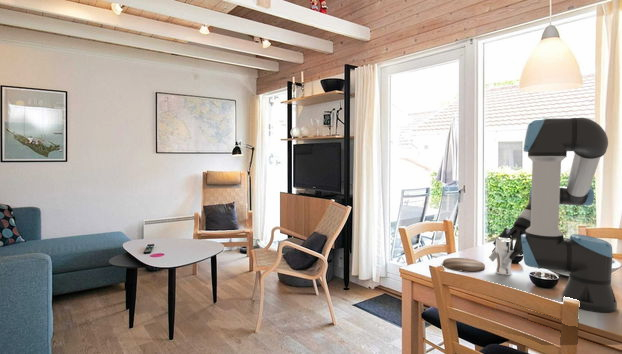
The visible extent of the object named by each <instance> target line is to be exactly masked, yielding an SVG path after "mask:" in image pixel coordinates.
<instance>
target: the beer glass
mask: <svg viewBox="0 0 622 354" xmlns="http://www.w3.org/2000/svg"><path fill="white" fill-rule="evenodd" d="M495 240H496V247H495V246H494V248H495V250H496V264H497V265H496V270H495V272H496V273H497V274H499V275H500V276H511V275H512V273H513V272H512V267H511V265H512V261H513V260H511V262H510V263H509V265H508V266H506V265H505V264H504V263H503V261H504V259H505V258H506V256H507V255H508V254H509V253H510V251H511V250H512V249H514V240H512V239H509V238H498V237H497V238H495ZM512 251H513V250H512Z"/></svg>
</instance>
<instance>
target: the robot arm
mask: <svg viewBox="0 0 622 354" xmlns="http://www.w3.org/2000/svg"><path fill="white" fill-rule="evenodd" d="M526 127H527V128H526V131H525V137H524V144H523V152H525V153H527V158H528V159H530V160H531V162H532V165H531V168H532V170H531V171H532V172H531V186H530V189H529V200H528V203H527V205H526V206H525V207H524V209H523V210H522V211H521V213H520V214H519V216H518V218H517V219H515V221H514V222H513V226H512V227H511V228H507V227H504V228H503V231H502V232H501V233H500V234H499V235H498V237H497V238H509V239H512V240H513V241H514V240H515V243H514V245H513V249H512V250H513V251H512V250H511V251H510V253H509V254H508V255H507V256H506V258H505V259H504V261H503V263H504V264H505V265H506V266H508V265H509V263H510V262H511V263H512V261H513V260H515V258H516V257H517V256H518V255H522V256H523V262H524V265H526V266H527V267H530V268H535V269H536V268H537V269H539V270H540V269H542V270H551V271H560V272H569V273H568V280H567V282H566V284H565V287H564V289H563V291H562V294H561V295H562V296H561V297H562V298H561V299H562V300H563V297H564V296H565V297H570V298H573V299H577V300H579V301H580V308H579V309H581V310H586V311H591V312H596V313H598V312H599V313H613V312H615V310H616V309H617V307H618V301H617V300H616V297H615V296H616V295H615V293H614V290H613V287H612V275H613V273H612V271H613V258H614V256H613V255H614V254H613V246H612V244H611V243H610V242H609V241H607V240H604V239H603V238H602V239H601V238H598V237H596V236H590V235H585V234H580V233H579V234H575V233H574V234H571V235H570V236H569V238H566V237H565V238H564V232H563V231H562V230H561V229H560V228H559V225H560V224H559V223H560V221H559V220H560V219H559V218H560V205H566V206H567V205H568V206H581V207H583V206H592V205H593V204H594V199H595V193H594V189H593V188H592V187H591V186H592V182H593V180H594V177H595V174H596V171H597V169H598V165H599V162H600V159H601V157H603V156H604V155H605V154H606V153H607V149H608V147H609V138H608V135H607V133H606V131H605V130H604V128H603V127H602V126H601V125H600V124H599V123H597V122H596V121H595V120H593V119H591V118H588V117H587V118H586V117H582V116H575V117H553V118H552V117H551V118H549V117H548V118H545V117H543V118H538V119H537V118H536V119H532V120H530V121H529V122H528V124H527V126H526ZM567 152H573V153H574V155H573V159H572V164H571V168H570V172H569V175H568V180H567V184H566V186H561V172H562V171H561V170H562V161H564V160H565V158H567V154H568V153H567ZM492 244H493V246H494V248H493V250H492V251H491V254H490V255H489V256H488V258H489V259H490V261H491V262H495V260H497V258H496V250H495V247H496V239H495V240H494V241H493V243H492ZM511 260H512V261H511ZM616 311H617V310H616Z"/></svg>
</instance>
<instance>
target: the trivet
mask: <svg viewBox="0 0 622 354" xmlns="http://www.w3.org/2000/svg"><path fill="white" fill-rule="evenodd" d="M442 265H443V266H444V267H445V268H448V269H449V270H453V269H454V271H457V270H462V271H461V272H464V271H470V272H469V273H476V272H477V271H478V272H482V271H485V269H486V265H485V263H483V262H482V261H480V260H476V259H471V258H466V257H464V258H463V257H451V258H450V257H449V258H445V259H444V260H443V261H442ZM471 271H472V272H471Z"/></svg>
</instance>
